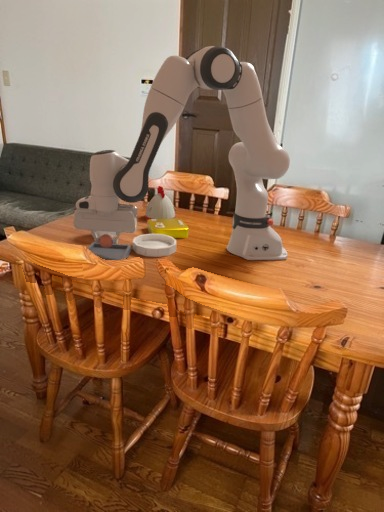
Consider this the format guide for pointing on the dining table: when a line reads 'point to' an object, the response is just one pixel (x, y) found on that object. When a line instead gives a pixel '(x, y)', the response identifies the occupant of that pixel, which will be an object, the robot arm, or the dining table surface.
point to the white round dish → (154, 245)
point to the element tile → (168, 227)
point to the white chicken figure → (160, 207)
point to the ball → (106, 241)
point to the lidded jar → (100, 233)
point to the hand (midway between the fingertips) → (106, 243)
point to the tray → (111, 251)
